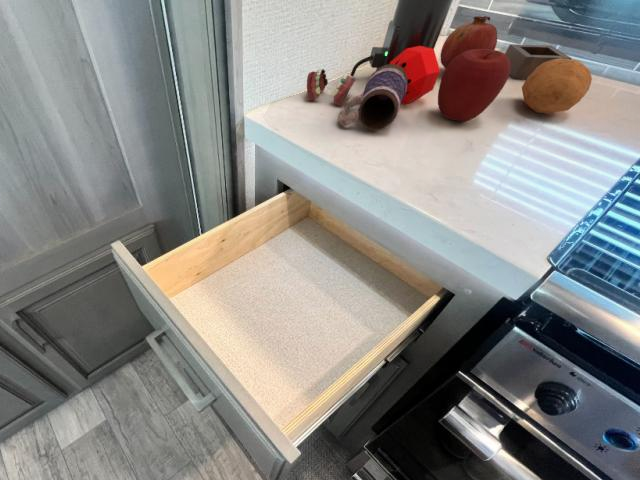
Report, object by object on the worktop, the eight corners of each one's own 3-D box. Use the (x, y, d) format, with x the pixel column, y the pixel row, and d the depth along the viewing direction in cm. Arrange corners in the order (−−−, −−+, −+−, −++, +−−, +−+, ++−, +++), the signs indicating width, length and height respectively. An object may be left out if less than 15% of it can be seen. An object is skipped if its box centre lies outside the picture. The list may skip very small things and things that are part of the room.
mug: (408, 56, 55) (400, 83, 48) (408, 101, 59) (401, 130, 53) (347, 74, 60) (332, 100, 53) (351, 114, 65) (338, 142, 58)
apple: (416, 115, 59) (443, 48, 51) (445, 101, 62) (474, 37, 55) (465, 134, 54) (503, 63, 46) (493, 118, 58) (533, 50, 50)
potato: (568, 104, 62) (602, 58, 56) (570, 128, 56) (608, 78, 50) (514, 95, 65) (541, 49, 59) (510, 116, 59) (540, 68, 53)
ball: (374, 71, 62) (409, 41, 55) (400, 64, 65) (437, 35, 58) (387, 112, 63) (423, 88, 56) (412, 104, 66) (450, 80, 59)
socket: (513, 78, 70) (526, 56, 67) (498, 65, 76) (509, 44, 72) (556, 80, 70) (571, 58, 66) (538, 66, 75) (551, 45, 72)
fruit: (457, 86, 68) (485, 25, 60) (422, 71, 73) (444, 13, 65) (492, 77, 71) (524, 18, 63) (456, 64, 76) (481, 8, 68)
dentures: (353, 77, 57) (305, 71, 60) (346, 107, 61) (301, 100, 64) (360, 69, 61) (314, 64, 64) (353, 97, 65) (310, 91, 67)
